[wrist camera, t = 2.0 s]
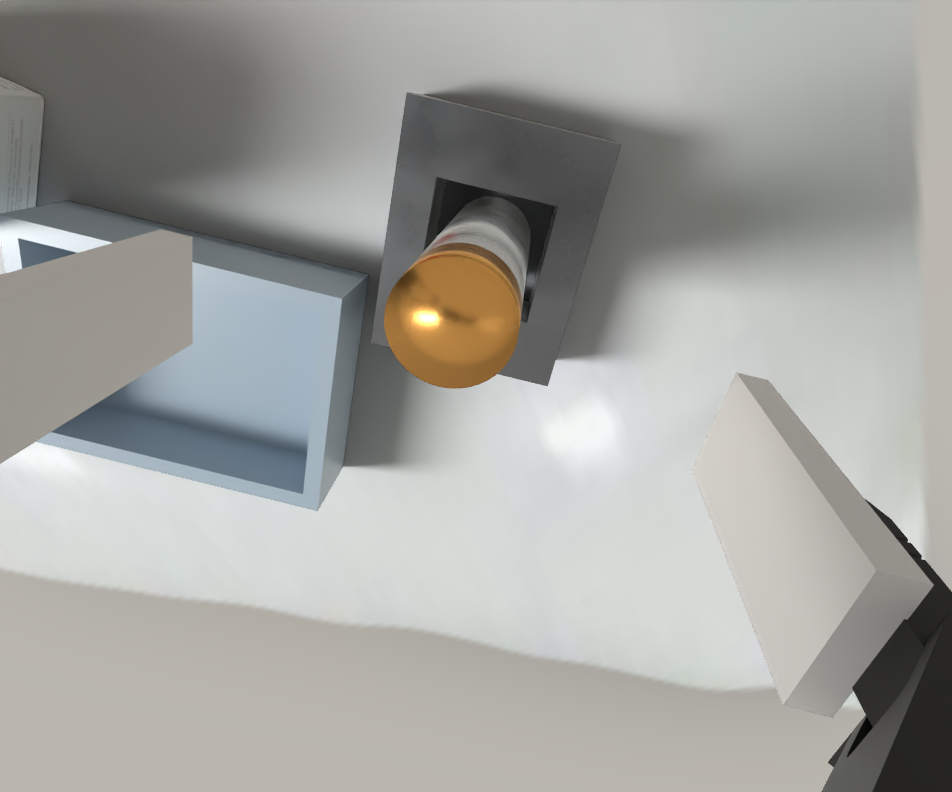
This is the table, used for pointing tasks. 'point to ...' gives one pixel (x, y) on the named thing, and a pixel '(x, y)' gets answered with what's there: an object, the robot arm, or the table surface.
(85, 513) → the table surface
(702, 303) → the table surface
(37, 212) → the tray
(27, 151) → the skincare box
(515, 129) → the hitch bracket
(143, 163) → the table surface
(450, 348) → the copper top battery
